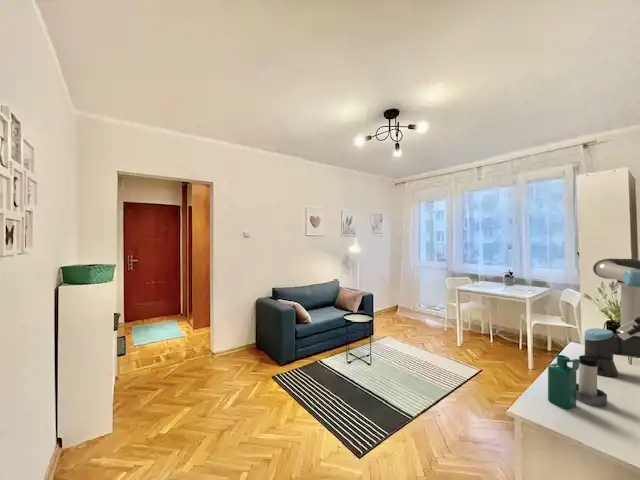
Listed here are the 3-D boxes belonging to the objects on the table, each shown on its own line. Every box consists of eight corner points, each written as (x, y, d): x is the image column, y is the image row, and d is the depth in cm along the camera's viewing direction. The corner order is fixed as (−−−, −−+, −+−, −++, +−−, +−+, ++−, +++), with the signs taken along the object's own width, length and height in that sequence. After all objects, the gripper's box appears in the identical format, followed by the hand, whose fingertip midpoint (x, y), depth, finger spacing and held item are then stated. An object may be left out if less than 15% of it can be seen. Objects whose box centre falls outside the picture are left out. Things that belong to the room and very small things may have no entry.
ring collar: (583, 390, 139) (583, 382, 139) (614, 405, 127) (614, 396, 127) (563, 393, 136) (563, 385, 136) (592, 408, 124) (592, 399, 124)
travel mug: (601, 403, 128) (601, 360, 128) (584, 401, 129) (585, 359, 129) (591, 395, 134) (591, 354, 134) (575, 394, 135) (575, 353, 135)
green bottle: (545, 400, 130) (546, 353, 130) (556, 396, 134) (556, 351, 133) (571, 412, 121) (571, 362, 121) (581, 407, 125) (582, 359, 124)
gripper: (689, 320, 105) (629, 348, 116) (682, 309, 121) (630, 334, 132) (667, 304, 109) (611, 332, 120) (662, 295, 125) (614, 321, 136)
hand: (621, 333), depth 126 cm, fingers open, 13 cm apart
